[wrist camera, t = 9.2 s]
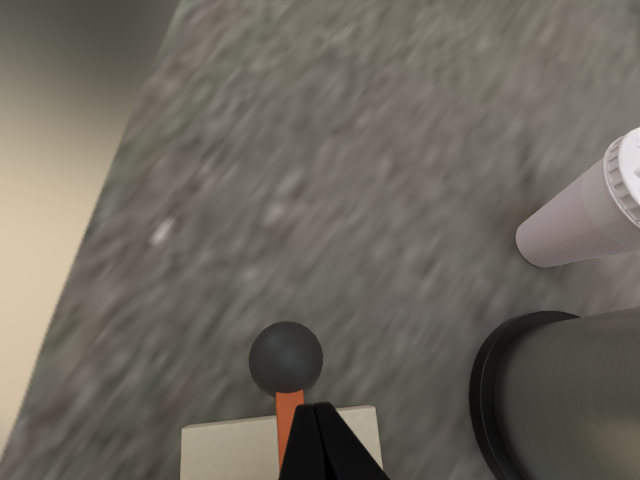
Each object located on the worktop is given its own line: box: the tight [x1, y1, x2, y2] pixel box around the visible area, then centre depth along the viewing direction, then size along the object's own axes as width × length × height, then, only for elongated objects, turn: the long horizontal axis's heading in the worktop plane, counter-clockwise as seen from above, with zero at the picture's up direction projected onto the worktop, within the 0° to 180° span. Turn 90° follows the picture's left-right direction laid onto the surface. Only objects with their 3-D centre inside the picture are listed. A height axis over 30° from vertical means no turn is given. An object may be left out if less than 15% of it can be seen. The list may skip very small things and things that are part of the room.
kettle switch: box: [249, 322, 323, 474], centre depth 14 cm, size 12×3×3 cm, turn 6°
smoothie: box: [516, 127, 640, 268], centre depth 21 cm, size 6×6×14 cm
